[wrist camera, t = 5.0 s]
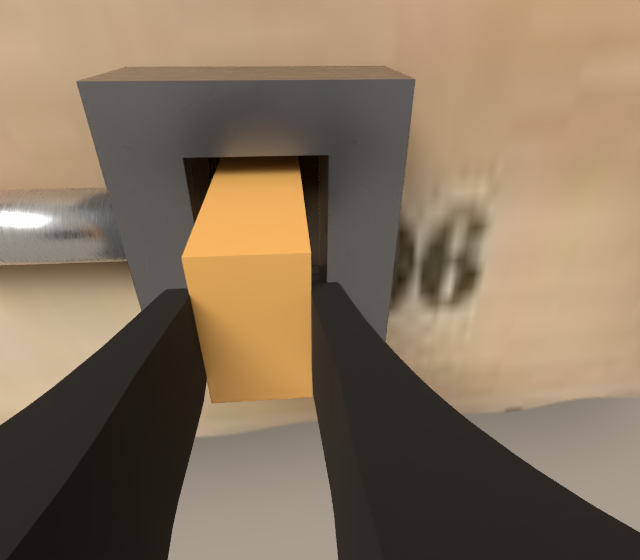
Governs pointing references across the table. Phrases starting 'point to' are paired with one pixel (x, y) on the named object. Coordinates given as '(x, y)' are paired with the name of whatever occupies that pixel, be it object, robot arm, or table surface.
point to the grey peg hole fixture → (226, 141)
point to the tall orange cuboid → (253, 281)
